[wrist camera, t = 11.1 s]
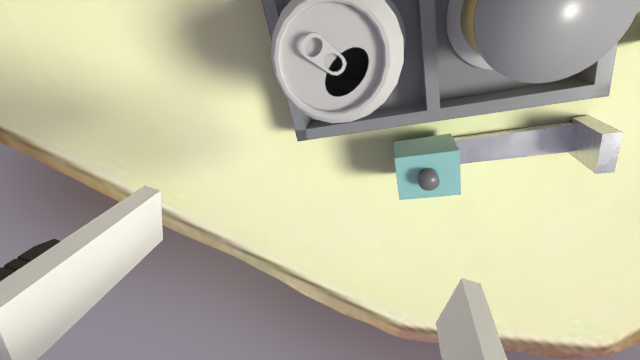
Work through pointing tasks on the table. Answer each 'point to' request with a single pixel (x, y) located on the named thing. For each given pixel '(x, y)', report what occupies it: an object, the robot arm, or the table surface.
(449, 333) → the robot arm
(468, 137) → the latch rail
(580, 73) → the housing
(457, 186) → the block
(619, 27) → the tan lidded jar
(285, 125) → the table surface
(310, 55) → the can
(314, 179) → the table surface
